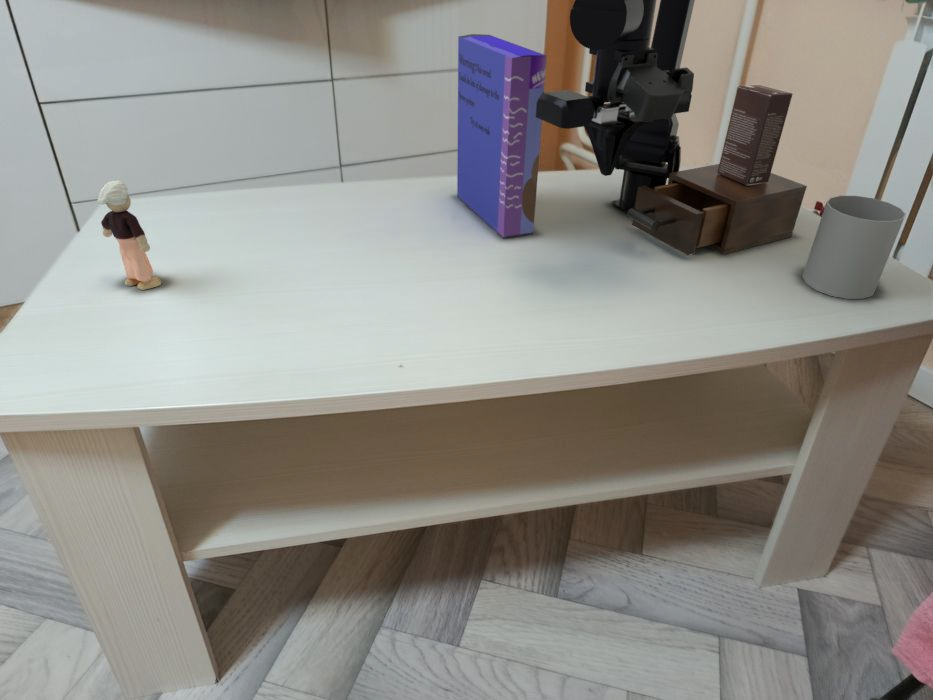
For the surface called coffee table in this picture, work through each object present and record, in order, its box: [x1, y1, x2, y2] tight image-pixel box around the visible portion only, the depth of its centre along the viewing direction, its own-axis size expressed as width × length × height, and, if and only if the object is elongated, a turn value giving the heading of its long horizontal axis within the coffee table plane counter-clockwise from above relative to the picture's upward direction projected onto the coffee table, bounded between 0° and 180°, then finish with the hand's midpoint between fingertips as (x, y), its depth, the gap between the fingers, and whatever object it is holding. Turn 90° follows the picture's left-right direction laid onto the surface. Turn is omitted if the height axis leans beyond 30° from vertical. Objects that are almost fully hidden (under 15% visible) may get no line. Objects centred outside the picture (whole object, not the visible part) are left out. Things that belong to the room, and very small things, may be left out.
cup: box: [801, 195, 906, 300], centre depth 81 cm, size 8×8×10 cm
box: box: [717, 84, 794, 186], centre depth 91 cm, size 6×4×12 cm
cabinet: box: [667, 163, 808, 255], centre depth 96 cm, size 14×13×8 cm
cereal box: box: [456, 33, 547, 239], centre depth 95 cm, size 17×5×24 cm, turn 23°
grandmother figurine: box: [97, 179, 162, 291], centre depth 78 cm, size 8×4×13 cm, turn 71°
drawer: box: [626, 182, 731, 256], centre depth 92 cm, size 17×11×6 cm
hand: (605, 174), depth 82 cm, fingers closed
